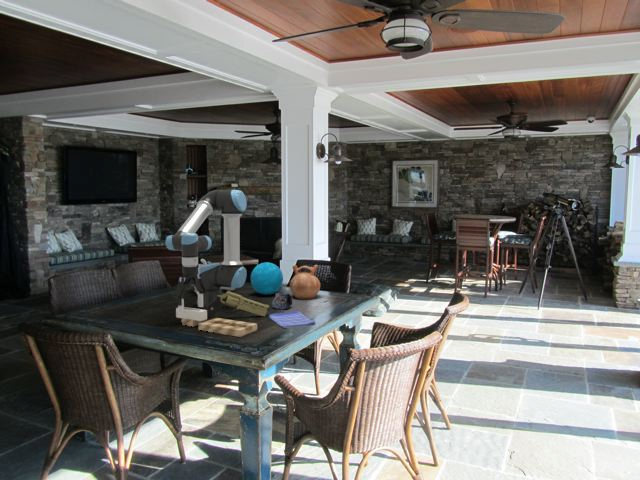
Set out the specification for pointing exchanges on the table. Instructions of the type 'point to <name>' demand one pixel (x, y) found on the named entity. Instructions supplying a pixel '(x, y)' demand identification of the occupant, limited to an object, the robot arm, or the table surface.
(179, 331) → the table surface
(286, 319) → the dish towel
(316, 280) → the jug
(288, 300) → the rock
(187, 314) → the strip
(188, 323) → the stand
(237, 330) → the board
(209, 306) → the handgun
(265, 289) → the decorative sphere
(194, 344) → the table surface
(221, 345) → the table surface
